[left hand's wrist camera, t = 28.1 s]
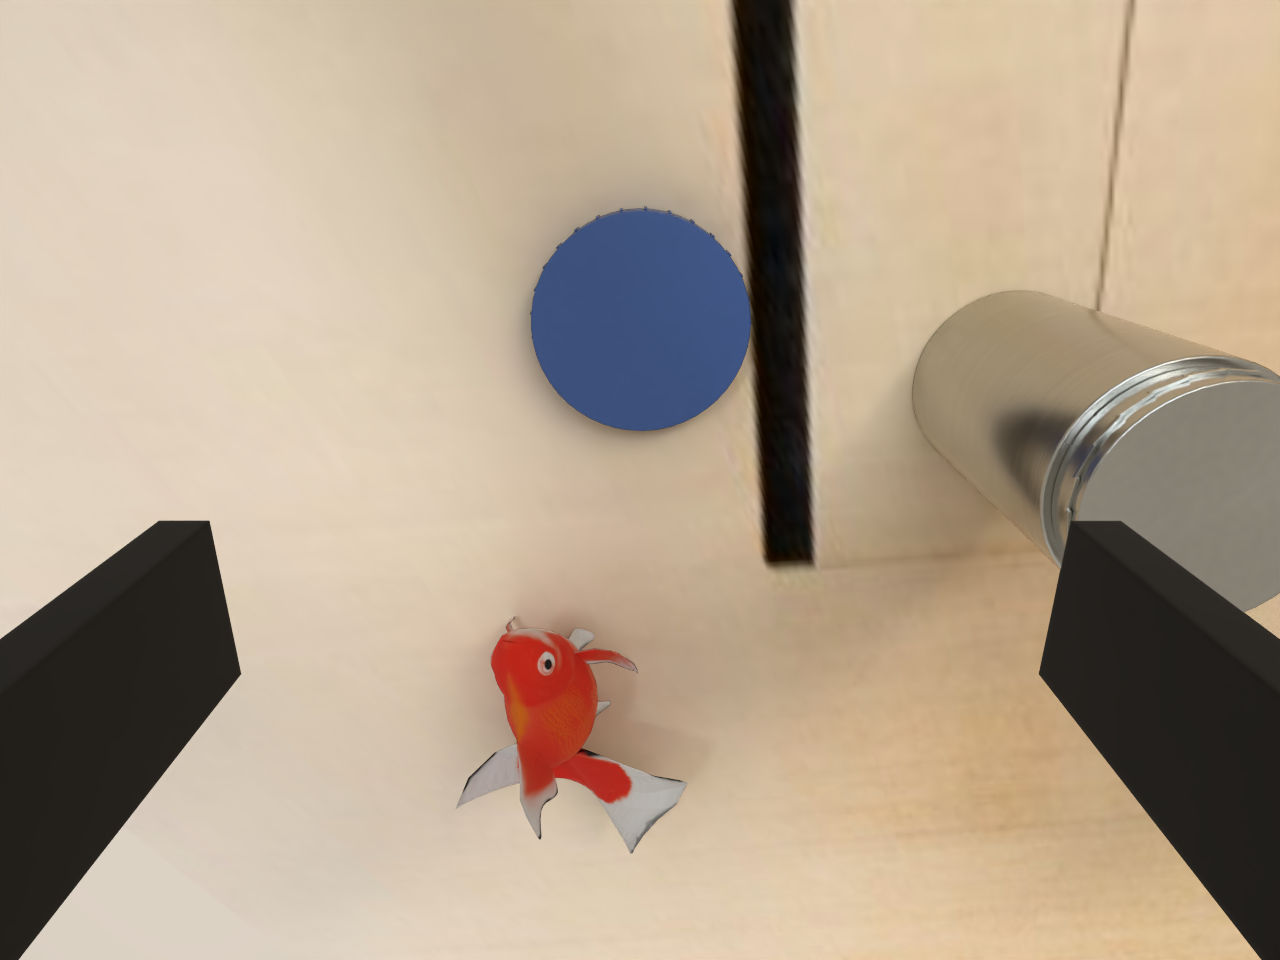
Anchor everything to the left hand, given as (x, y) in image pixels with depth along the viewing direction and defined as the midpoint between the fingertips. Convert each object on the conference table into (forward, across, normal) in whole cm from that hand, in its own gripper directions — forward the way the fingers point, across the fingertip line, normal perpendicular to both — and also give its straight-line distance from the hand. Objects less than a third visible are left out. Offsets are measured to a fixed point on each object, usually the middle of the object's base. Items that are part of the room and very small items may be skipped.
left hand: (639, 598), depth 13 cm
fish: (+26, -3, -21) cm, 33 cm away
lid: (+24, 0, 0) cm, 24 cm away
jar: (+26, +17, -3) cm, 31 cm away
